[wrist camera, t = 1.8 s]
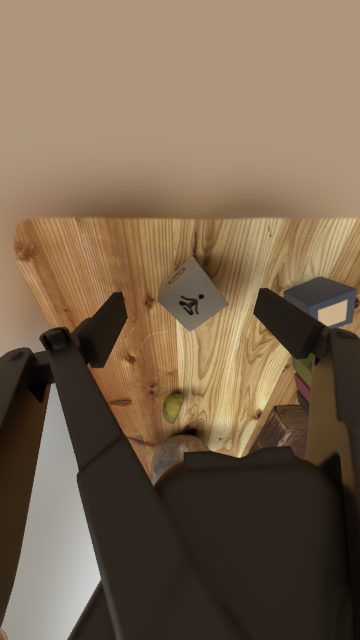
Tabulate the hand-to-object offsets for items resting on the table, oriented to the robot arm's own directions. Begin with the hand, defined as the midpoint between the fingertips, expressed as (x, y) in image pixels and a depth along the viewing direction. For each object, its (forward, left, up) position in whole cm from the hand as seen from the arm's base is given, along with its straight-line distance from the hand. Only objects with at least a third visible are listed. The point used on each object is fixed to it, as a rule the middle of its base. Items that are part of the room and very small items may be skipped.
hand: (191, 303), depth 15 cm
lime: (+12, +20, -5) cm, 23 cm away
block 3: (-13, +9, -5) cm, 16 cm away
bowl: (+19, +38, -5) cm, 42 cm away
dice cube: (0, 0, -5) cm, 5 cm away
